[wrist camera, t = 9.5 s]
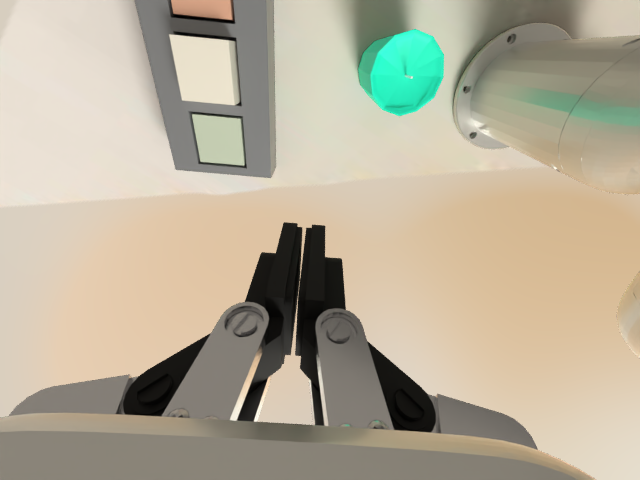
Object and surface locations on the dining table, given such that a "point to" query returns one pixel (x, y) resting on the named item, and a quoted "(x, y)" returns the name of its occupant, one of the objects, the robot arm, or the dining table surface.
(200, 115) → the key sage
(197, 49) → the key cream
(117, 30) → the dining table surface
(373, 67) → the candle
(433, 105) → the dining table surface
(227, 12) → the key terracotta
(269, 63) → the keypad
